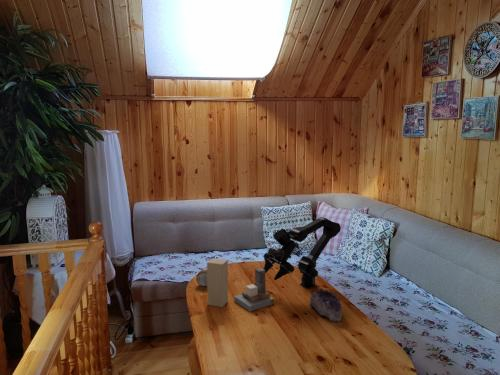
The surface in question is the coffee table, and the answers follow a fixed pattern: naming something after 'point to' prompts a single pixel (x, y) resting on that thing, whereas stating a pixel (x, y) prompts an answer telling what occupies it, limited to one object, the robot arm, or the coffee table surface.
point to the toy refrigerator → (217, 282)
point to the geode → (327, 305)
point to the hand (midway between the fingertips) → (268, 276)
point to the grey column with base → (259, 286)
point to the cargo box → (251, 290)
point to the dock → (255, 305)
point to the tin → (202, 278)
